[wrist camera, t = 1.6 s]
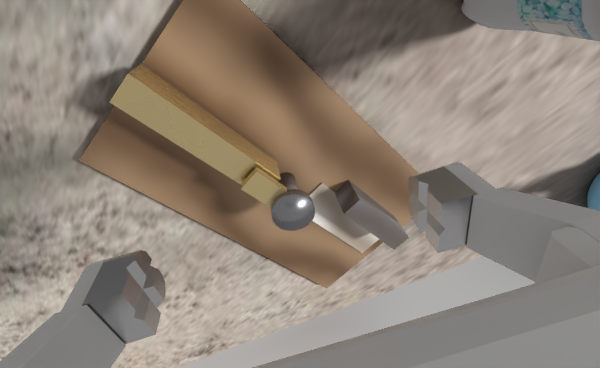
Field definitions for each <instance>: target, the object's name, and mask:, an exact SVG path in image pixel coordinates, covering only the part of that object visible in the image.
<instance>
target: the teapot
mask: <svg viewBox="0 0 600 368" xmlns="http://www.w3.org/2000/svg"><path fill="white" fill-rule="evenodd" d="M587 204H588V208H590V209H594V210H598V211H600V172H599V174H598V175H597V176H596V178H595V179H594V180H593V182H592V184H591V186H590V188H589V191H588V194H587Z"/></svg>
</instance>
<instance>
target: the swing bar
mask: <svg viewBox="0 0 600 368" xmlns="http://www.w3.org/2000/svg"><path fill="white" fill-rule="evenodd" d="M110 103H111V104H113V105H114V106H116V107H118V108H119V109H121V110H122V111H124V112H126V113H127V114H129V115H130V116H132V117H134V118H135V119H137V120H138V121H140V122H142V123H143V124H145V125H146V126H148V127H150V128H151V129H153V130H154V131H156V132H157V133H159V134H161V135H162V136H164V137H165V138H167V139H169V140H170V141H172V142H173V143H175V144H177V145H178V146H180V147H181V148H183V149H185V150H186V151H188V152H189V153H191V154H193V155H194V156H196V157H197V158H199V159H201V160H202V161H204V162H205V163H207V164H209V165H210V166H212V167H213V168H215V169H217V170H218V171H220V172H221V173H223V174H225V175H226V176H228V177H229V178H231V179H233V180H234V181H236V182H237V183H239V184H240V185H241V190H243V191H245V192H246V193H248V194H249V195H251V196H253V197H254V198H256V199H257V200H259V201H261V202H262V203H264V204H266V205H267V206H269V207H270V208H271V215H272V220H273V222H274V224H275V225H276V226H277V227H279V228H280V229H283V230H286V231H296V230H300V229H302V228H304V227H306V226H307V225H309V224H310V223H311V221H312V220H313V218H314V216H315V207H314V204H313V201H312V199H311V197H310V196H309V194H307V193H306V192H304V191H302V190H298V189H290V190H287V187H285V186H284V185H282V184H281V183H279V182H278V181H279V180H280V179H281V178H280V173H279V168H278V163H277V161H276V160H274V159H273V158H271V157H270V156H269V155H267V154H266V153H264V152H263V151H262V150H260V149H259V148H257V147H256V146H255V145H253V144H252V143H250V142H249V141H248V140H246V139H245V138H244V137H242V136H241V135H239V134H238V133H237V132H235V131H234V130H232V129H231V128H230V127H228V126H227V125H225V124H224V123H223V122H221V121H220V120H218V119H217V118H216V117H214V116H213V115H212V114H210V113H209V112H207V111H206V110H205V109H203V108H202V107H200V106H199V105H198V104H196V103H195V102H193V101H192V100H191V99H189V98H188V97H186V96H185V95H184V94H182V93H181V92H180V91H178V90H177V89H175V88H174V87H173V86H171V85H170V84H168V83H167V82H166V81H164V80H163V79H161V78H160V77H159V76H157V75H156V74H154V73H153V72H152V71H150V70H149V69H148V68H146V67H145V66H143V65H142V64H140V65H138V66H137V67H136V68H134V69H133V70H132V71H130V72H129V73H128V74H127V75H126V77H125V79H124V80H123V82H122V83H121V85H120V86H119V88H118V89H117V91H116V93H115V94H114V96H113V97H112V99H111V100H110Z"/></svg>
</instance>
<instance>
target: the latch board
mask: <svg viewBox="0 0 600 368" xmlns="http://www.w3.org/2000/svg"><path fill="white" fill-rule="evenodd" d="M142 65H143V66H145V67H146V68H148V69H149V70H150V71H152V72H153V73H154V74H156V75H157V76H159V77H160V78H161V79H163V80H164V81H166V82H167V83H168V84H170V85H171V86H173V87H174V88H175V89H177V90H178V91H180V92H181V93H182V94H184V95H185V96H186V97H188V98H189V99H191V100H192V101H193V102H195V103H196V104H198V105H199V106H200V107H202V108H203V109H205V110H206V111H207V112H209V113H210V114H212V115H213V116H214V117H216V118H217V119H218V120H220V121H221V122H223V123H224V124H225V125H227V126H228V127H230V128H231V129H232V130H234V131H235V132H237V133H238V134H239V135H241V136H242V137H244V138H245V139H246V140H248V141H249V142H250V143H252V144H253V145H255V146H256V147H257V148H259V149H260V150H262V151H263V152H264V153H266V154H267V155H269V156H270V157H271V158H273V159H274V160H276V161H277V163H278V168H279V173H280V178H281V179H280V180H279V181H278V182H279V183H281V184H282V185H284V186H285V187H287V190H290V189H298V190H302V191H304V192H306V193H307V194H309V196H310V197H311V199H312V201H313V204H314V207H315V216H314V218H313V220H312V221H311V223H310V224H309V225H307V226H306V227H304V228H302V229H300V230H296V231H286V230H283V229H280V228H279V227H277V226H276V225H275V224H274V222H273V220H272V215H271V208H270V207H269V206H267V205H266V204H264V203H262V202H261V201H259V200H257V199H256V198H254V197H253V196H251V195H249V194H248V193H246V192H245V191H243V190H241V185H240V184H239V183H237V182H236V181H234V180H233V179H231V178H229V177H228V176H226V175H225V174H223V173H221V172H220V171H218V170H217V169H215V168H213V167H212V166H210V165H209V164H207V163H205V162H204V161H202V160H201V159H199V158H197V157H196V156H194V155H193V154H191V153H189V152H188V151H186V150H185V149H183V148H181V147H180V146H178V145H177V144H175V143H173V142H172V141H170V140H169V139H167V138H165V137H164V136H162V135H161V134H159V133H157V132H156V131H154V130H153V129H151V128H150V127H148V126H146V125H145V124H143V123H142V122H140V121H138V120H137V119H135V118H134V117H132V116H130V115H129V114H127V113H126V112H124V111H122V110H121V109H119V108H118V107H116V106H114V107H113V109H112V110H111V112H110V113H109V115H108V116H107V118H106V119H105V121H104V122H103V124H102V126H101V127H100V129H99V130H98V132H97V133H96V135H95V136H94V138H93V139H92V141H91V143H90V144H89V146H88V147H87V149H86V150H85V152H84V153H83V155H82V156H81V158H80V159H79V161H81V162H83V163H85V164H86V165H88V166H90V167H92V168H94V169H96V170H98V171H100V172H102V173H104V174H106V175H108V176H110V177H112V178H114V179H116V180H118V181H119V182H121V183H123V184H125V185H127V186H129V187H131V188H133V189H135V190H137V191H139V192H141V193H143V194H145V195H147V196H149V197H151V198H152V199H154V200H156V201H158V202H160V203H162V204H164V205H166V206H168V207H170V208H172V209H174V210H176V211H178V212H180V213H182V214H184V215H185V216H187V217H189V218H191V219H193V220H195V221H197V222H199V223H201V224H203V225H205V226H207V227H209V228H211V229H213V230H215V231H217V232H218V233H220V234H222V235H224V236H226V237H228V238H230V239H232V240H234V241H236V242H238V243H240V244H242V245H244V246H246V247H248V248H250V249H251V250H253V251H255V252H257V253H259V254H261V255H263V256H265V257H267V258H269V259H271V260H273V261H275V262H277V263H279V264H281V265H282V266H284V267H286V268H288V269H290V270H292V271H294V272H296V273H298V274H300V275H302V276H304V277H306V278H308V279H310V280H312V281H314V282H315V283H317V284H319V285H321V286H323V287H325V288H328V287H329V286H330V285H331V284H332V283H334V282H335V281H336V280H337V279H339V278H340V277H341V276H342V275H343V274H345V273H346V272H347V271H348V270H350V269H351V268H352V267H353V266H354V265H356V264H357V263H358V262H359V261H361V260H362V259H363V258H364V257H365V256H367V255H368V254H369V253H370V252H372V251H373V250H374V249H375V248H376V247H378V246H379V245H380V244H381V243H383V242H384V243H386V244H387V245H389V246H390V247H391V248H393V249H395V248H396V247H398V246H399V245H400V244H401V243H403V242H404V241H405V240H406V239H408V238H409V237H408V235H407V234H406V232H405V231H404V230H403V228H402V226H403V225H405V224H406V223H407V222H408V221H410V220H411V219H412V217H411V215H410V212H409V208H408V199H409V197H410V196H411V194H412V192H411V191H410V190H409V188H408V179H409V176H413V175H416V174H419V173H418V172H417V171H416V170H415V169H414V168H413V167H412V166H410V165H409V164H408V163H407V162H406V161H405V160H404V159H403V158H402V157H401V156H400V155H399V154H398V153H397V152H396V151H395V150H394V149H393V148H392V147H391V146H390V145H389V144H388V143H387V142H386V141H385V140H384V139H383V138H382V137H381V136H380V135H379V134H378V133H377V132H375V131H374V130H373V129H372V128H371V127H370V126H369V125H368V124H367V123H366V122H365V121H364V120H363V119H362V118H361V117H360V116H359V115H358V114H357V113H356V112H355V111H354V110H353V109H352V108H351V107H350V106H349V105H348V104H347V103H346V102H345V101H344V100H343V99H342V98H341V97H339V96H338V95H337V94H336V93H335V92H334V91H333V90H332V89H331V88H330V87H329V86H328V85H327V84H326V83H325V82H324V81H323V80H322V79H321V78H320V77H319V76H318V75H317V74H316V73H315V72H314V71H313V70H312V69H311V68H310V67H309V66H308V65H307V64H306V63H305V62H303V61H302V60H301V59H300V58H299V57H298V56H297V55H296V54H295V53H294V52H293V51H292V50H291V49H290V48H289V47H288V46H287V45H286V44H285V43H284V42H283V41H282V40H281V39H280V38H279V37H278V36H277V35H276V34H275V33H274V32H273V31H272V30H271V29H270V28H269V27H267V26H266V25H265V24H264V23H263V22H262V21H261V20H260V19H259V18H258V17H257V16H256V15H255V14H254V13H253V12H252V11H251V10H250V9H249V8H248V7H247V6H246V5H245V4H244V3H243V2H242V1H241V0H183V1H182V2H181V4H180V5H179V7H178V8H177V10H176V12H175V13H174V15H173V16H172V18H171V19H170V21H169V22H168V24H167V25H166V27H165V29H164V30H163V32H162V33H161V35H160V36H159V38H158V39H157V41H156V42H155V44H154V45H153V47H152V49H151V50H150V52H149V53H148V55H147V56H146V58H145V59H144V61H143V62H142Z"/></svg>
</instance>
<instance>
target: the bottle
mask: <svg viewBox="0 0 600 368" xmlns="http://www.w3.org/2000/svg"><path fill="white" fill-rule="evenodd" d="M461 9H462V12H463V13H464V15H465V16H467V17H468V18H469V19H471V20H473V21H475V22H476V23H478V24H480V25H482V26H485V27H488V28H494V29H505V30H527V31H536V32H542V33H549V34H556V35H562V36H569V37H576V38H582V39H589V40H596V41H600V0H464V2H463V4H462V7H461Z"/></svg>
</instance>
